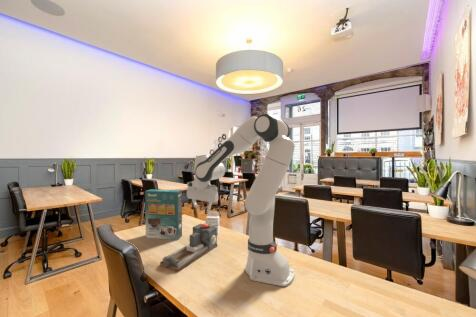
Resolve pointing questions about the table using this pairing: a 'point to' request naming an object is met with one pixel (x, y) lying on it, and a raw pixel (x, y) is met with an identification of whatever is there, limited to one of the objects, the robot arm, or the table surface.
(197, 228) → the track
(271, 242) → the robot arm
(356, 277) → the table surface
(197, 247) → the carriage
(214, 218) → the ink cartridge box
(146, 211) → the cake mix box
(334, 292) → the table surface
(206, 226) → the button
